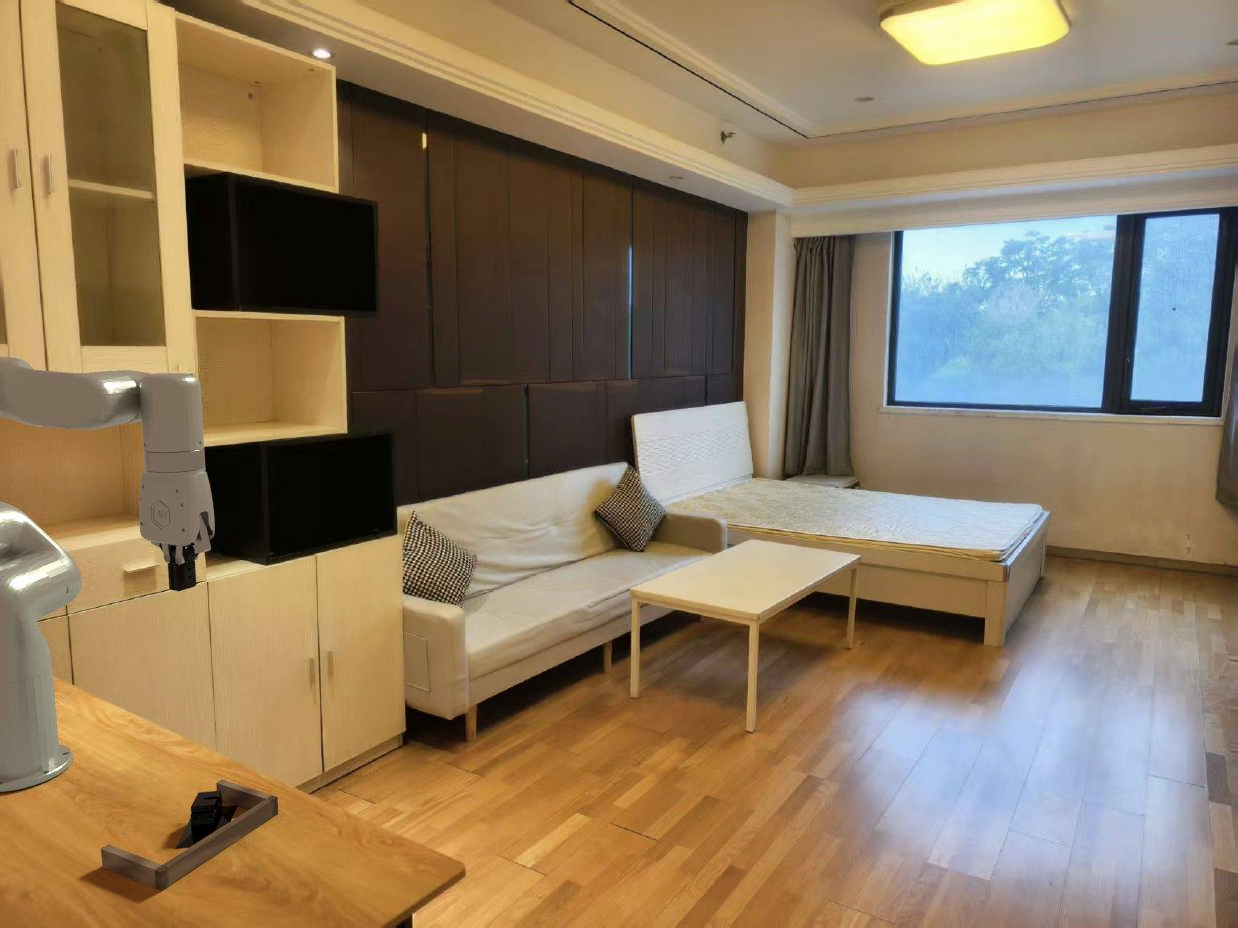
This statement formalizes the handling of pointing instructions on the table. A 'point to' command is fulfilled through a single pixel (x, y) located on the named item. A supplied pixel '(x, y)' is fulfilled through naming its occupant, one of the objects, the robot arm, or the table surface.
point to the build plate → (205, 818)
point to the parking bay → (204, 850)
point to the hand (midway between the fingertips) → (183, 587)
